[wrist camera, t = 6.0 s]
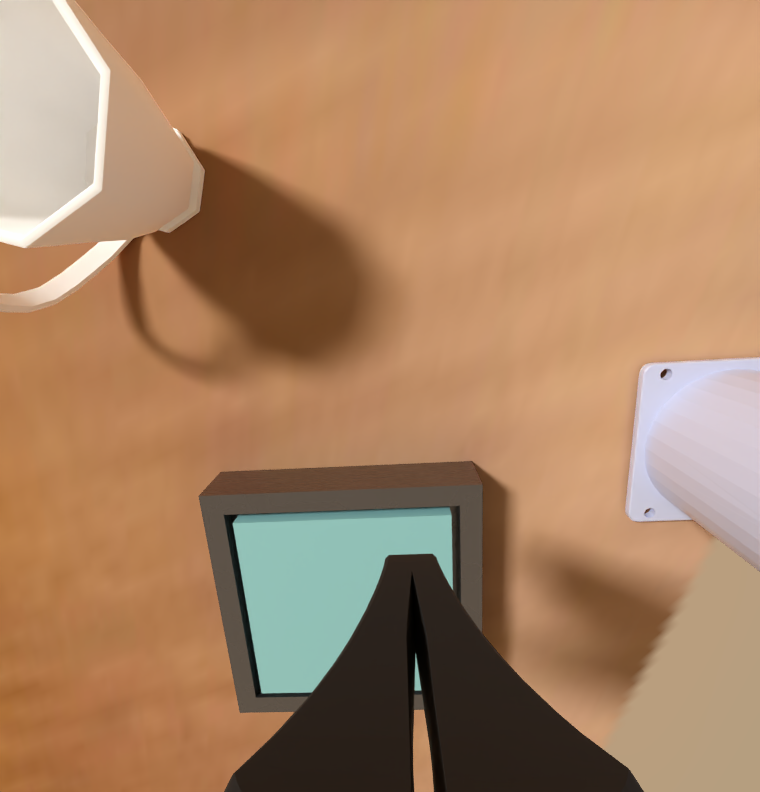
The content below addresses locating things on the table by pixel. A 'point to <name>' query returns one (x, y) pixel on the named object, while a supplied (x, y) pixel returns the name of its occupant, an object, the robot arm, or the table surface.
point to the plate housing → (333, 493)
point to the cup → (81, 147)
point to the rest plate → (323, 581)
